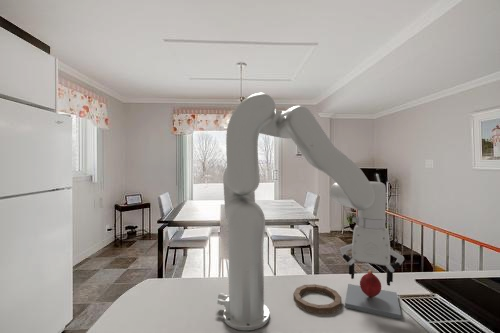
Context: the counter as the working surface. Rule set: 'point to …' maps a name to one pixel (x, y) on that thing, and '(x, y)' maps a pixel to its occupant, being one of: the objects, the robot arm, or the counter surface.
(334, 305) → the ring holder
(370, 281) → the onion
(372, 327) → the counter surface
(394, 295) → the board
